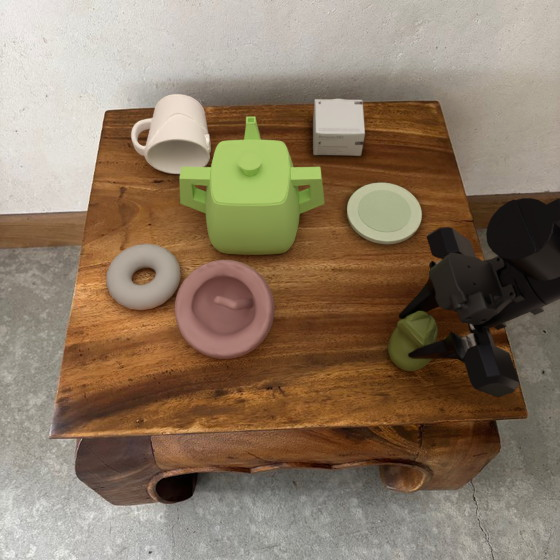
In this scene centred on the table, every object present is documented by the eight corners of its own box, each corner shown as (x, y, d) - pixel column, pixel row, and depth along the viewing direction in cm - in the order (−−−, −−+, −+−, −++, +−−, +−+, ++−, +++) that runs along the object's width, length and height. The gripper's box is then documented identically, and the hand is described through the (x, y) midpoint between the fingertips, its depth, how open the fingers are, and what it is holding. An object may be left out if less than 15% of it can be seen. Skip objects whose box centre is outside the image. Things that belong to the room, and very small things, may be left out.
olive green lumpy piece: (436, 359, 69) (458, 323, 61) (409, 386, 68) (426, 352, 59) (403, 330, 72) (419, 291, 63) (375, 355, 70) (388, 318, 61)
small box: (312, 156, 88) (314, 132, 83) (312, 122, 92) (314, 97, 87) (361, 157, 87) (365, 133, 83) (359, 122, 92) (363, 98, 87)
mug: (212, 131, 91) (207, 92, 84) (212, 173, 86) (206, 136, 79) (139, 134, 90) (128, 95, 84) (135, 177, 86) (123, 140, 79)
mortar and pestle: (172, 365, 69) (154, 325, 59) (196, 285, 75) (183, 236, 66) (266, 380, 68) (263, 342, 58) (282, 298, 74) (282, 250, 64)
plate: (422, 191, 84) (424, 187, 83) (418, 249, 78) (419, 246, 77) (351, 181, 85) (351, 177, 84) (341, 238, 79) (342, 234, 79)
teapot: (193, 164, 87) (179, 99, 76) (319, 164, 87) (324, 99, 76) (181, 262, 77) (164, 203, 66) (323, 262, 77) (330, 203, 66)
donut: (190, 302, 74) (173, 244, 79) (186, 290, 71) (169, 230, 76) (116, 324, 72) (104, 263, 77) (109, 312, 70) (97, 249, 74)
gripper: (468, 174, 55) (348, 247, 64) (533, 345, 45) (380, 403, 54) (516, 216, 62) (402, 276, 71) (581, 371, 52) (439, 418, 61)
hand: (405, 336), depth 64 cm, fingers closed on olive green lumpy piece, 5 cm apart
